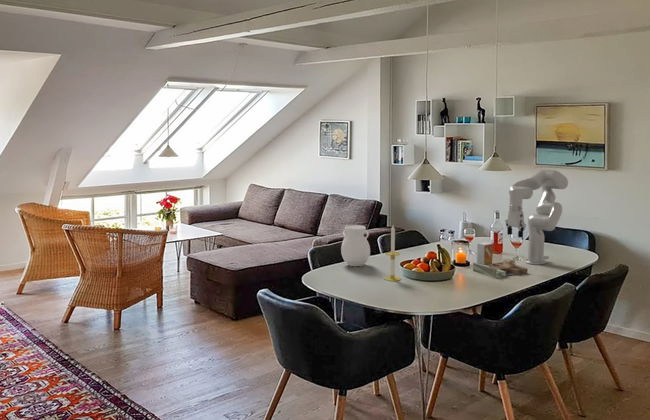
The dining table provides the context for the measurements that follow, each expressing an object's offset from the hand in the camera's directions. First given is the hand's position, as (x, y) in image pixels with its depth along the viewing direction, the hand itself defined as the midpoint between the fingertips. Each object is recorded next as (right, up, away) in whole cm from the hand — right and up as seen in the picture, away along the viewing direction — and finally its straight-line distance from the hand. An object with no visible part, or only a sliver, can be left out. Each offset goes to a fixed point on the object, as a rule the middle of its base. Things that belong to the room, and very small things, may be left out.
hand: (515, 235), depth 394 cm
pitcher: (-97, -20, +16) cm, 101 cm away
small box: (-14, -19, +20) cm, 31 cm away
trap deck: (-10, -22, -3) cm, 24 cm away
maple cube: (-4, -19, -1) cm, 19 cm away
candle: (-77, -25, -19) cm, 83 cm away
